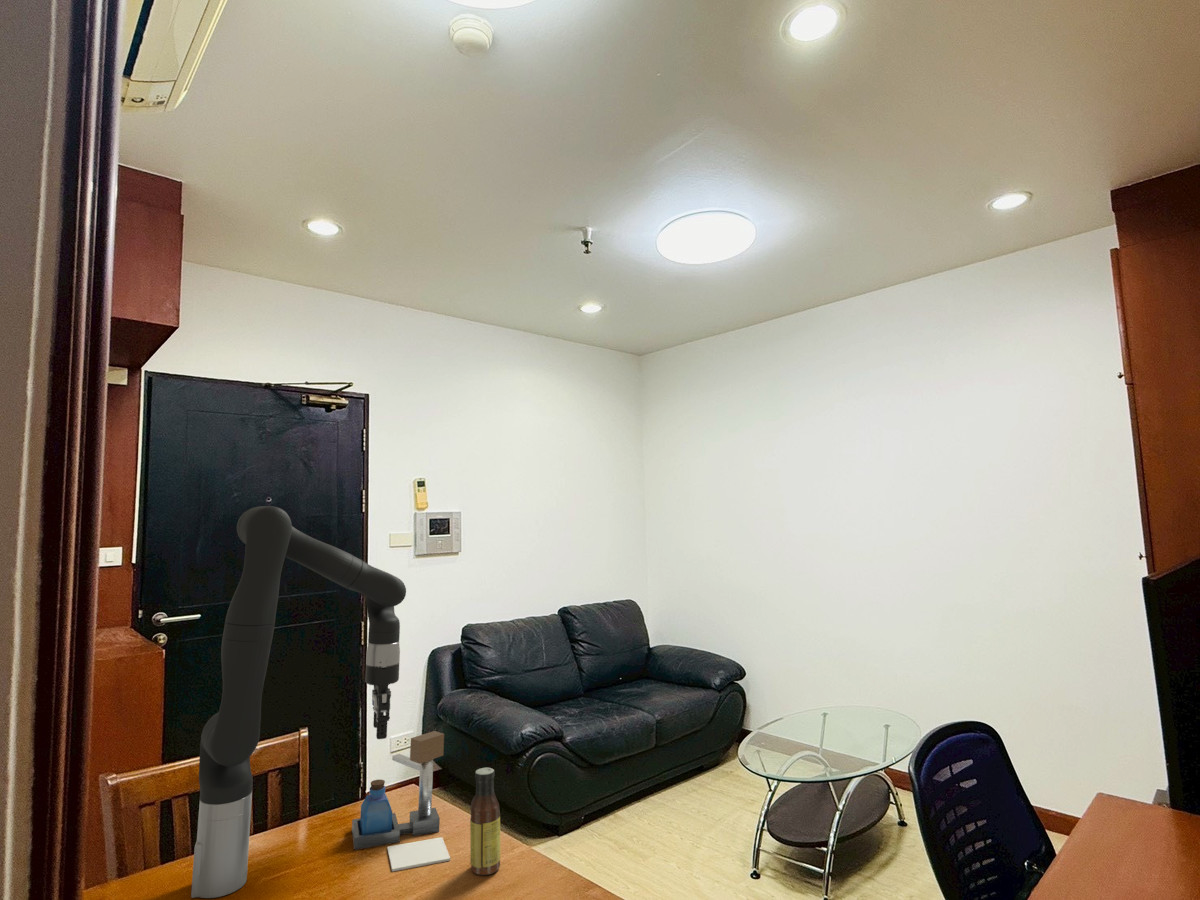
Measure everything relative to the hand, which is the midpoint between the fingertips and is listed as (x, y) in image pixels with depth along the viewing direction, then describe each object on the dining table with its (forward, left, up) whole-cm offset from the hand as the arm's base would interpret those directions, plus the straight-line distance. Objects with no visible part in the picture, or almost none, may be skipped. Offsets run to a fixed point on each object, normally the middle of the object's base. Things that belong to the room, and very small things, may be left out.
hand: (379, 732), depth 154 cm
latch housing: (+5, 0, -23) cm, 23 cm away
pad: (+8, -12, -23) cm, 27 cm away
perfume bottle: (0, 0, -23) cm, 23 cm away
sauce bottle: (+20, -23, -23) cm, 38 cm away
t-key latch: (+8, +4, -20) cm, 22 cm away
